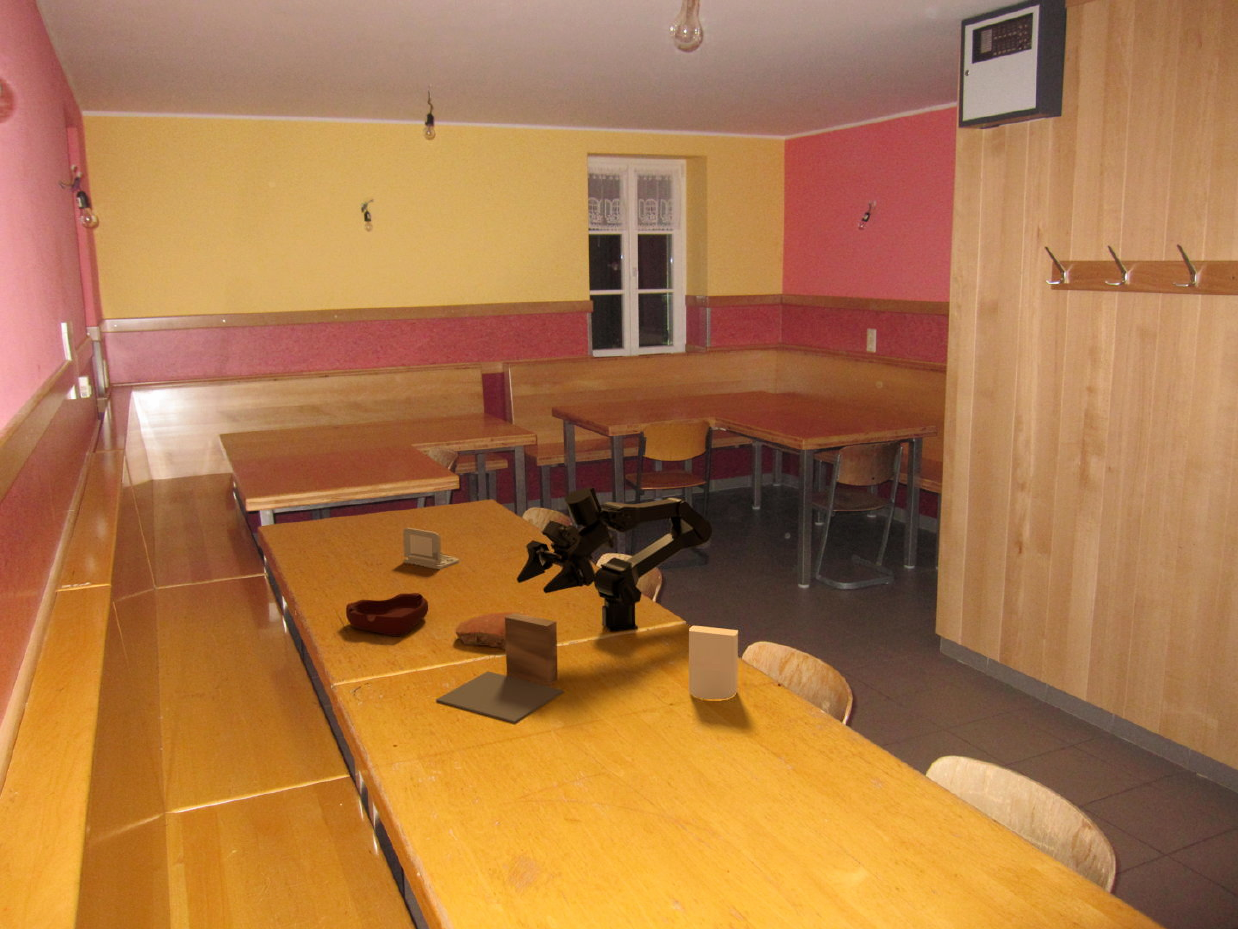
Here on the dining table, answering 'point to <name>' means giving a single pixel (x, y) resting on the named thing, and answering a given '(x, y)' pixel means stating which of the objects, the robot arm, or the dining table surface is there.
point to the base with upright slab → (713, 662)
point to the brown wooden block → (531, 649)
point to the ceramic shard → (484, 630)
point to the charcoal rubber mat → (500, 696)
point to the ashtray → (388, 614)
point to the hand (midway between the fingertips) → (530, 586)
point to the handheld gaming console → (425, 549)
